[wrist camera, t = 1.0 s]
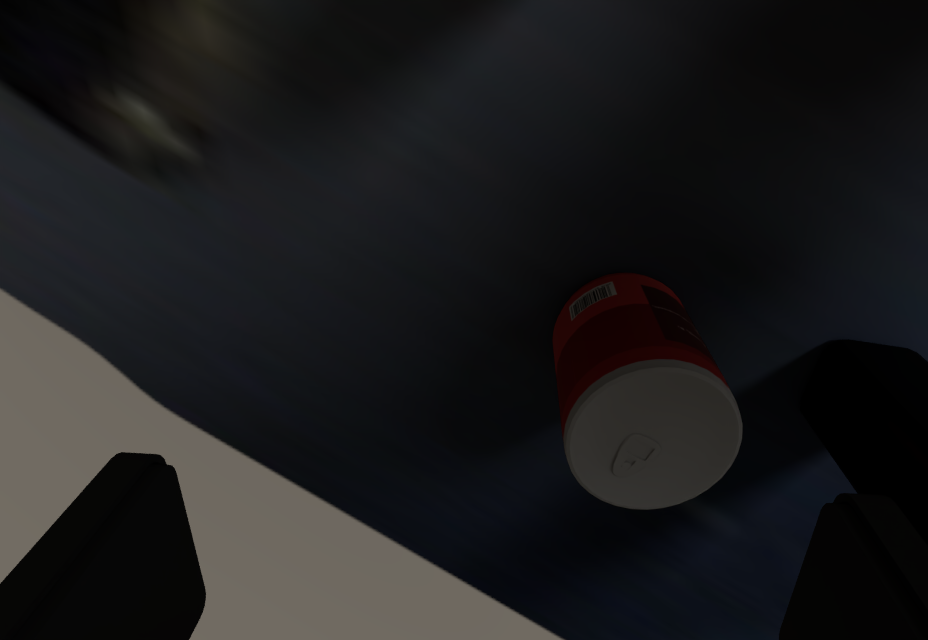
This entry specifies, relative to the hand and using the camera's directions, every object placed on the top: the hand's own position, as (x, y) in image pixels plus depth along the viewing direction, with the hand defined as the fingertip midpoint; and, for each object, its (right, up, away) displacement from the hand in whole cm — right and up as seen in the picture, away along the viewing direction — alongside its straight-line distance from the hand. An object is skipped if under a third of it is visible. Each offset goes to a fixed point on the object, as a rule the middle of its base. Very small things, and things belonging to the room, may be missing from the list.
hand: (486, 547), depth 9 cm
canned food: (+9, +3, +29) cm, 30 cm away
